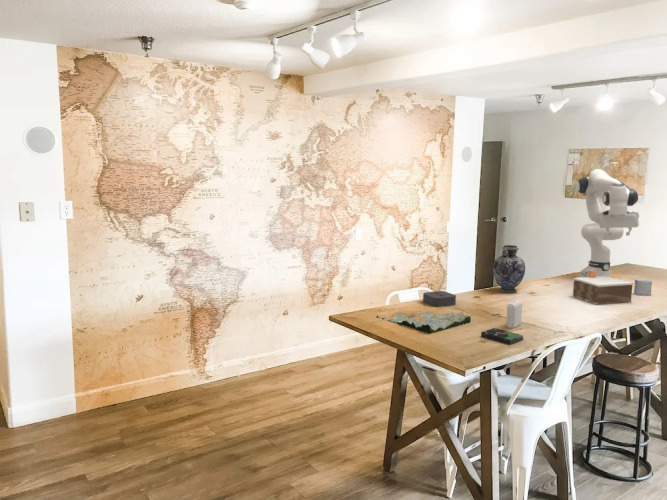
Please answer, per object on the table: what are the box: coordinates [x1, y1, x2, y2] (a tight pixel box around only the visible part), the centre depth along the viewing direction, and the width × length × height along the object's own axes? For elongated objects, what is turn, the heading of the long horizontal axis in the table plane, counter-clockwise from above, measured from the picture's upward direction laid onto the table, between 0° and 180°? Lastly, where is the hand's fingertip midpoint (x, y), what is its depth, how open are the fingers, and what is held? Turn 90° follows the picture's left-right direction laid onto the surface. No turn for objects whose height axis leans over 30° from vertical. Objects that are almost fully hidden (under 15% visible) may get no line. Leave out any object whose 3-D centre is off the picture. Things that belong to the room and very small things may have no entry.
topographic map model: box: [376, 311, 472, 335], centre depth 261 cm, size 36×29×5 cm
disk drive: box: [480, 327, 524, 346], centre depth 232 cm, size 10×3×15 cm
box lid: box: [573, 270, 634, 287], centre depth 300 cm, size 20×22×5 cm
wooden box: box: [572, 280, 633, 306], centre depth 301 cm, size 20×22×10 cm
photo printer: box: [506, 299, 523, 329], centre depth 250 cm, size 10×4×12 cm, turn 140°
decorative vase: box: [492, 244, 526, 294], centre depth 321 cm, size 21×19×28 cm
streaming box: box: [422, 290, 457, 308], centre depth 294 cm, size 14×14×5 cm
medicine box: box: [633, 279, 653, 296], centre depth 313 cm, size 8×4×9 cm, turn 84°
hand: (618, 235), depth 307 cm, fingers open, 8 cm apart
